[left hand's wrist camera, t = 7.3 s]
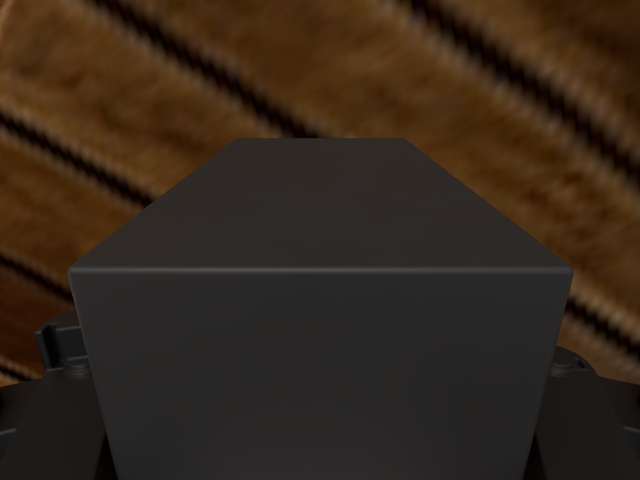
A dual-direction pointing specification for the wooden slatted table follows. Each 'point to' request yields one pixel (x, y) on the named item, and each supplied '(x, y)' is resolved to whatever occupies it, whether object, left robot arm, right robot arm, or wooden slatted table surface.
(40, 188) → the wooden slatted table surface
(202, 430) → the bar
